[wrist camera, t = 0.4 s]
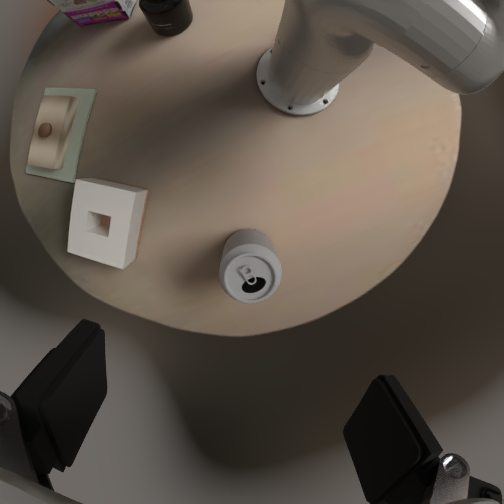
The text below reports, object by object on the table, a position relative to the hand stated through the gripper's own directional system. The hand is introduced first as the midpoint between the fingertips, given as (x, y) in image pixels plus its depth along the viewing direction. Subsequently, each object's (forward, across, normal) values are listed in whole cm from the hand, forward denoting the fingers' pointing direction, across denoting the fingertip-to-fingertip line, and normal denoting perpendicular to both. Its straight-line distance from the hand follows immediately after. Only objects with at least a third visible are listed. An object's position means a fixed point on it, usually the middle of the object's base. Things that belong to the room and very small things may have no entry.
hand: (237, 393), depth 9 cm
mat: (+36, +34, -9) cm, 50 cm away
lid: (+35, +34, -9) cm, 50 cm away
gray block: (+36, +20, +4) cm, 41 cm away
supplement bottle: (+36, +19, -30) cm, 50 cm away
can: (+36, -2, +4) cm, 36 cm away
